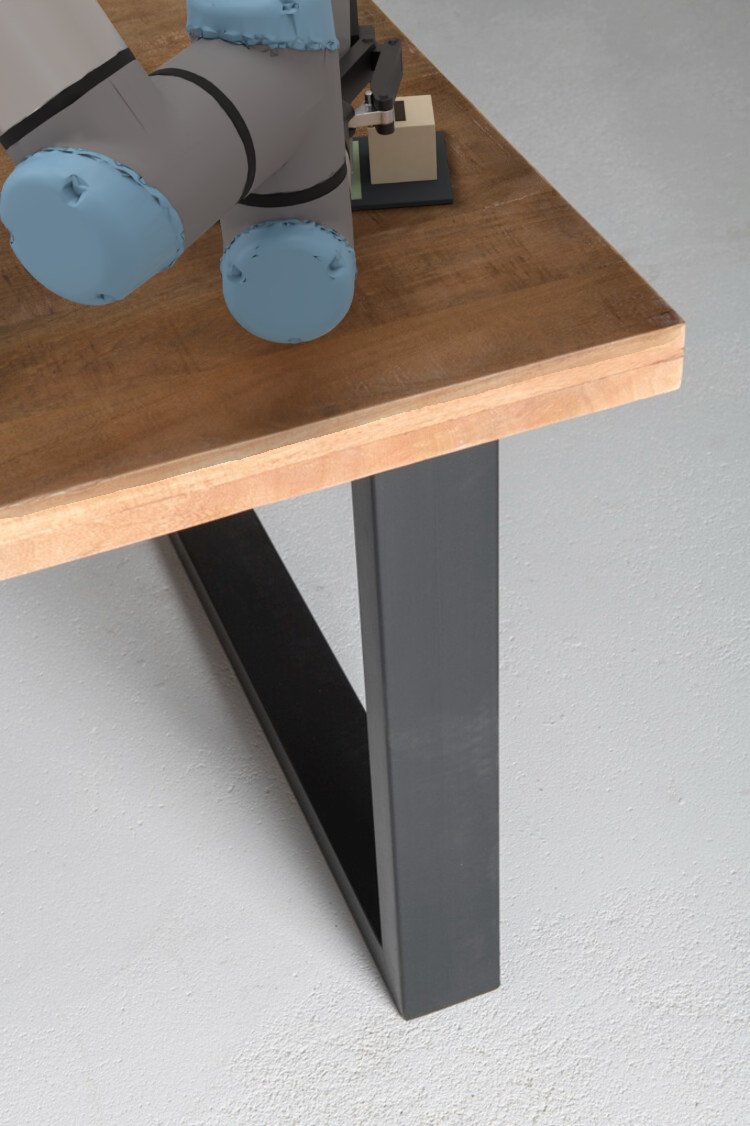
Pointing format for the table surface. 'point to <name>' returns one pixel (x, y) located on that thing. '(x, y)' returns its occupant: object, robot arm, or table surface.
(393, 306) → the table surface
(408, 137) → the dark base board
